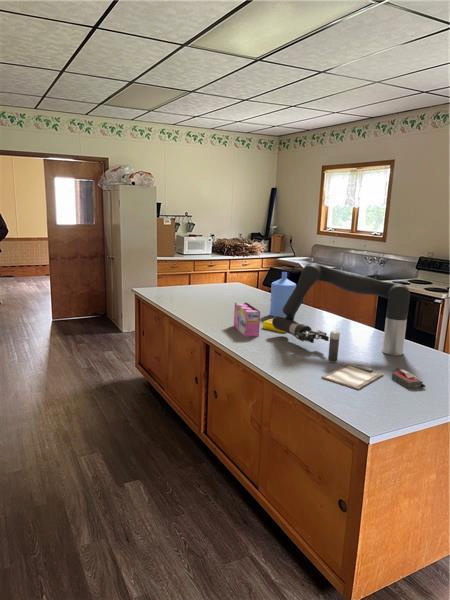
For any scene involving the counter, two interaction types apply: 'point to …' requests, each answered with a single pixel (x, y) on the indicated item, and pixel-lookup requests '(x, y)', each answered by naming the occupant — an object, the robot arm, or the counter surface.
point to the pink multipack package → (247, 319)
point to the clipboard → (353, 376)
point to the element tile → (270, 326)
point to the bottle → (333, 347)
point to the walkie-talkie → (407, 379)
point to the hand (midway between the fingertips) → (320, 339)
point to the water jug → (280, 295)
